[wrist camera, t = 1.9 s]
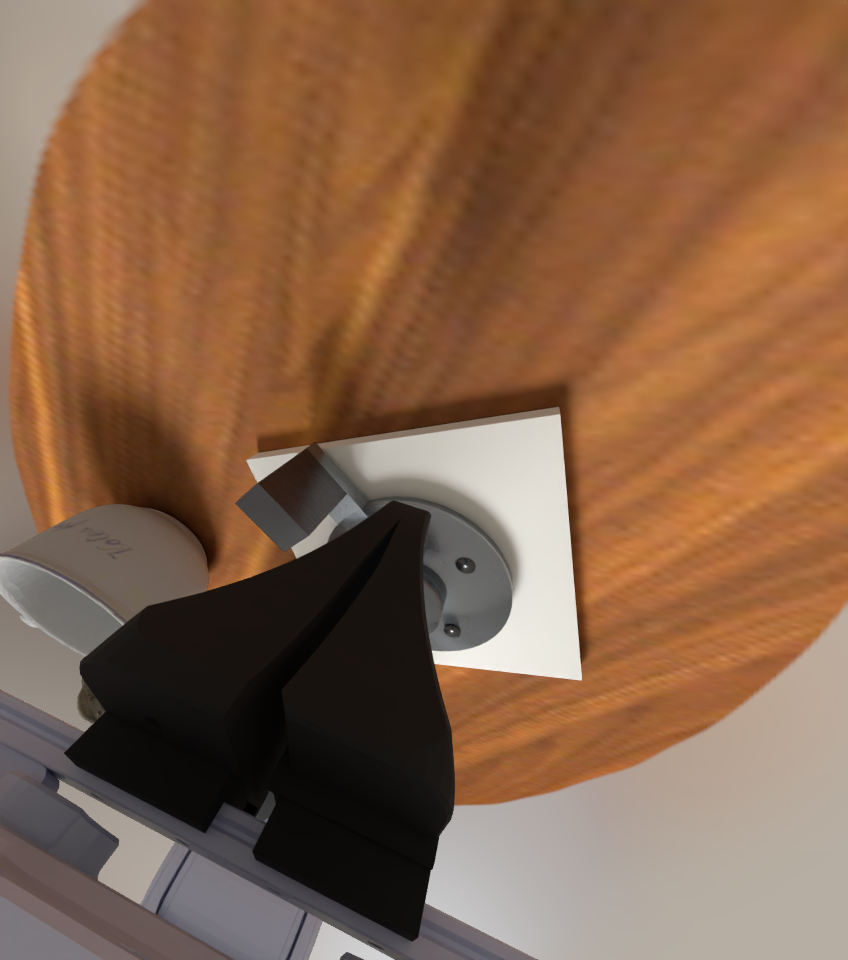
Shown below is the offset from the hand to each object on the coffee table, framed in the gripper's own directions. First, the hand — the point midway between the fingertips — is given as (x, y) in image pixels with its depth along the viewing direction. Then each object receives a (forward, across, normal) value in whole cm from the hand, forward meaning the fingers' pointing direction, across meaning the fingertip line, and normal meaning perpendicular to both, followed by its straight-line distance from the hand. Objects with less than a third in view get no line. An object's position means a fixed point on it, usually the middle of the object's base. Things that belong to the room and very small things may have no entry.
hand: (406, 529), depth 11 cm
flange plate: (+5, +2, +7) cm, 9 cm away
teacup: (+7, +22, +16) cm, 28 cm away
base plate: (+7, 0, +8) cm, 11 cm away
